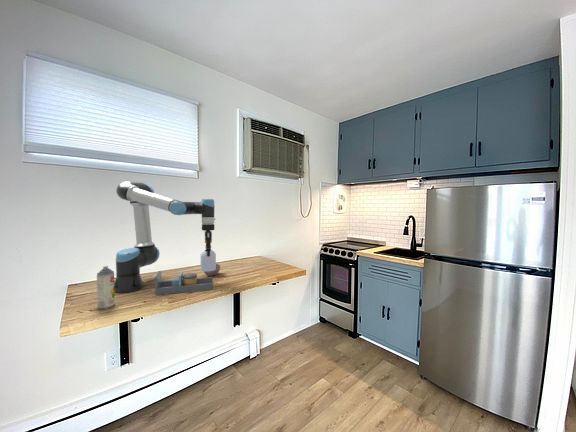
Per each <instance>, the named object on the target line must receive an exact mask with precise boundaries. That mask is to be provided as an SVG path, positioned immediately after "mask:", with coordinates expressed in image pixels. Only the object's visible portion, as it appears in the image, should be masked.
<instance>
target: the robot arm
mask: <svg viewBox="0 0 576 432" xmlns="http://www.w3.org/2000/svg"><path fill="white" fill-rule="evenodd" d="M116 195H117V196H118V197H119V198H120V199H122V200H124V201H129V205H131V206H132V209H133V218H134V219H133V220H134V231H135V239H136V240H135V241H136V244H135V245H134V246H133V247H130V248H124V249H121V250H119V251H117V253H116V255H115V257H116V258H115V271H116V272H115V274H116V276H115V279H114V292H115V293H117V294H119V293H120V294H121V293H123V294H124V293H131V292H136V291H137V290H141V289H142V288H144V281H143V279H142V276H141V268H143V267H147V266H151V265H153V264H155V263H156V262H157V261H158V260H159V258H160V254H161V253H160V250H159V249H158V247H157V246H156V244H155V243H154V242H153V239H152V228H151V218H150V207H149V206H151V207H154V208H157V209H160V210H163V211H166V212H170V213H171V214H172V215H174V216H182V215H185V216H186V215H201V231H203V232H204V241H205V240H206V243H205V246H206V250H205V249H204V251H206V262H210V261H211V250H212V245H211V236H212V237H213V232H212V233H210V231H214V230H215V221H216V218H215V200H214V199H212V198H202V199H201V201H181V200H177V199H174V198H171V197H167V196H165V195H160V194H158V193H155V190H154V188H153V187H152V186H151V185H150V184H147V183H144V182H138V181H137V182H136V181H129V180H126V181H122V182H121V183H119V184H118V185H117V187H116ZM205 231H206V233H205ZM207 248H208V249H207Z"/></svg>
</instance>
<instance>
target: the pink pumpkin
mask: <svg viewBox="0 0 576 432" xmlns="http://www.w3.org/2000/svg"><path fill="white" fill-rule="evenodd" d="M220 271H221V265H220V264H219V263H216V269H215V270H214V271H209V272H203V273H204V274H205V275H206V276H209V277H213V276H216V275H218V274H219V272H220Z"/></svg>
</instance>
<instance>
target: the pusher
mask: <svg viewBox="0 0 576 432" xmlns="http://www.w3.org/2000/svg"><path fill="white" fill-rule="evenodd" d="M182 276H183V270H180V271H179V275H178V276H177V277H172V279H171V281H172V287H175V286H182V280H183V278H182Z"/></svg>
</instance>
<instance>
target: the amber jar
mask: <svg viewBox="0 0 576 432" xmlns="http://www.w3.org/2000/svg"><path fill="white" fill-rule="evenodd" d="M197 278H198V273H195V272H194V273H193V272H190V273H189V272H188V273H185V274H184V273H183V274H182V280H183V286H186V285H197Z"/></svg>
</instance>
